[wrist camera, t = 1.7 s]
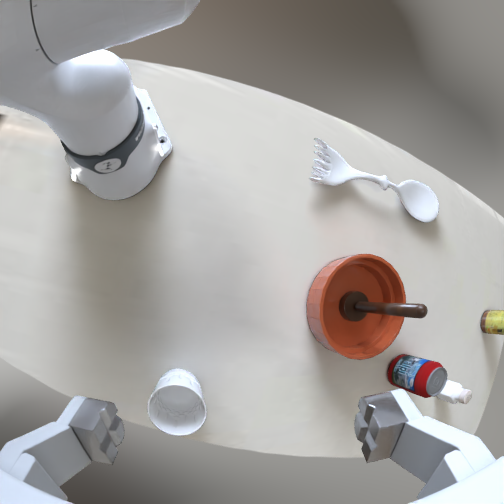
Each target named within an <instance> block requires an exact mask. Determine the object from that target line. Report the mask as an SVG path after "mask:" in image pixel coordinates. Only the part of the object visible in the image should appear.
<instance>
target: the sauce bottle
mask: <svg viewBox="0 0 504 504" xmlns="http://www.w3.org/2000/svg"><path fill="white" fill-rule="evenodd" d="M481 328H482V331H483V332H485V333H488V334H500V335H504V310H491V311H486V312H485V313H484V314H483V316H482V320H481Z"/></svg>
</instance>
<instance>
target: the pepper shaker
mask: <svg viewBox="0 0 504 504" xmlns="http://www.w3.org/2000/svg"><path fill="white" fill-rule="evenodd" d="M437 397H438V398H439V399H441V400H444V401H447V402H450V403H452V404H456V403H457V402H460V403H463V404H467V403H468V402H469V401H470V399H471V397H472V391H471V390H467V389H463V387H462V386H461V384H459V383H456V382H452V381H449V380H447V381H446V384H445V387H444V388H443V390H442V391H441V392H440V393H439V394H438V395H437Z"/></svg>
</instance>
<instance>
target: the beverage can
mask: <svg viewBox="0 0 504 504" xmlns="http://www.w3.org/2000/svg"><path fill="white" fill-rule="evenodd" d="M388 379H389V381H390V383H391V384H392V385H394V386H397V387H399V388H402V389H404V390H406V391H409V392H411V393H414V394H416V395H419V396H422V397H424V398H428V397H431V396H436V395H438V394H439V393H440V392H441V391H442V390H443V388H444V387H445V384H446V381H447V371H446V370H445V368H443V366H442V365H441V364H440V363H438V362H434V361H430V360H426V359H422V358H418V357H414V356H410V355H405V354H402V355H399V356H397V357H396V358H395V359H394V360H393V361H392V363H391V365H390V367H389V370H388Z"/></svg>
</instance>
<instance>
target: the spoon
mask: <svg viewBox="0 0 504 504" xmlns="http://www.w3.org/2000/svg"><path fill="white" fill-rule="evenodd" d="M314 140H315V141H316V142H317V143H318V144H320V145H321V146H322V147H323V148H322V147H320V146H316V145H315V147H316V148H317V149H318V150H319V151H321V152H322V153H323V154H321V153H319V152H316V151H314V153H315V154H316V155H318V156H319V157H320V158H322V159H323V160H324V161H326V162H324V161H321V160H318V159H313V160H314V162H315V163H317V164H318V165H319V166H321V167H322V168H323V169H325V170H323V169H320V168H317V167H312V168H313V169H315V170H316V171H318V172H320V173H321V174H319V173H316V172H311V173H312V174H313V175H315V176H317V177H319V178H321V179H318V178H313V177H310V178H309V179H310V180H312V181H314V182H318V183H322V184H328V185H340V184H343V183H345V182H347V181H349V180H353V179H365V180H370V181H373V182H375V183H377V184H379V185H380V186H381V188H382V189H383V190H386V189H387V188H388V187H390V188H392V189H393V190H394V191H395V192H396V193H397V195H398V196H399V198H400V200H401V202H402V204H403V205H404V207H405V208H406V210H407V211H408V212H409V213H410V214H411V215H412V216H413V217H414V218H416V219H417V220H420V221H422V222H431V221H433V220H435V219H436V217H437V215H438V212H439V202H438V199H437V197H436V195H435V193H434V192H433V191H432V190H431V189H430V188H429V187H428V186H427V185H425V184H423V183H421V182H418V181H415V180H407V181H405V182H403V183H401V184H399V185H395V184H393V183H391V182H389V181H388V179H387V177H386V176H385V175H382V176H381V177H378V176H375V175H372V174H368V173H365V172H361V171H358V170H355V169H353V168H351V167H350V166H349V165H348V164H347V163H346V162H345V160H344V159H343V158H342V156H341V155H340V154H339V153H338V152H336V151H335V150H334V149H332V148H331V147H330V146H328V145H327V144H326V143H325V142H323V141H322V140H320V139H318V138H314Z"/></svg>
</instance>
